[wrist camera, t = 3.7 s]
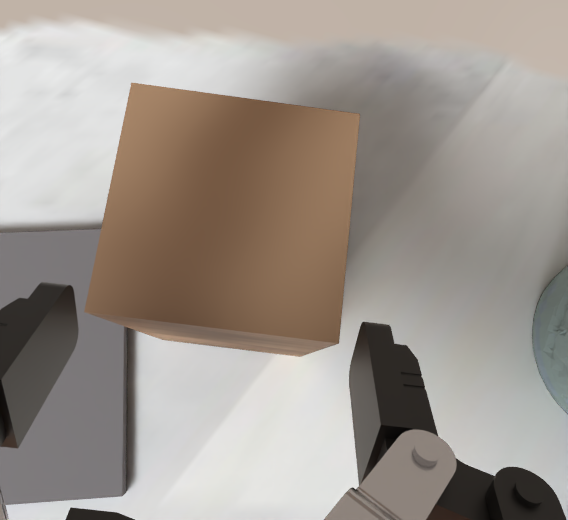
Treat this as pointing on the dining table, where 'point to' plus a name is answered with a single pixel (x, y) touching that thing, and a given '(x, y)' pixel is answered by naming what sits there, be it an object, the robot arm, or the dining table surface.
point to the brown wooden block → (227, 222)
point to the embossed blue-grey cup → (553, 338)
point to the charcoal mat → (68, 381)
